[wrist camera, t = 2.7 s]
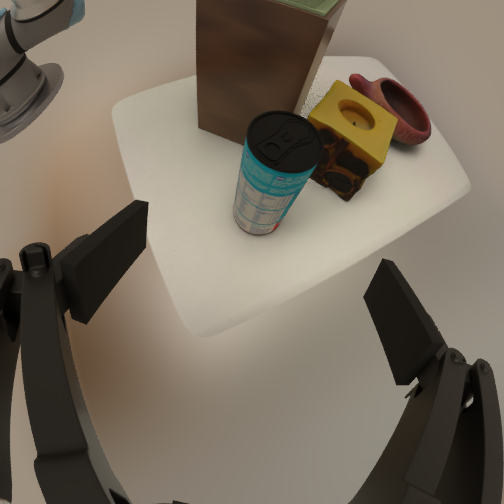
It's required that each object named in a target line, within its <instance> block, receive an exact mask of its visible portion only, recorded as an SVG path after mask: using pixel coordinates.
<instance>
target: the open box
mask: <svg viewBox="0 0 504 504" xmlns="http://www.w3.org/2000/svg"><path fill="white" fill-rule="evenodd" d="M273 1H277V2H281V3H284V4H288V5H291V6H294V7H297V8H300V9H303V10H306V11H309V12H312V13H315V14H317V15H320V16H323V17H324V16H325V15H326V14H327V13H328V12H329V11H330V10H331V9H332V8H333V7H334V6H335V5H336V4H337V3H338V2H339V1H340V0H273Z"/></svg>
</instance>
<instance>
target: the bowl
mask: <svg viewBox="0 0 504 504" xmlns="http://www.w3.org/2000/svg"><path fill="white" fill-rule="evenodd" d="M349 82H350V84H351V86H352V88H353V89H354V90H356V91H358V92H359V93H360V94H362V95H364V96H365V97H367V98H368V99H370V100H372V101H373V102H374V103H376V104H378V105H379V106H381V107H382V108H384V109H385V110H386V111H388V112H389V113H390V114H392V115H393V116H395V117H396V118H397V119H398V121H397V124H396V126H395V129H394V132H393V135H392V139H394V140H396V141H398V142H401V143H403V144H408V145H417V144H421V143H423V142H425V141H426V140H427V139H428V138H429V137H430V135H431V124H430V120H429V117H428V115H427V113H426V111H425V110H424V108H423V106H422V105H421V104H420V103H419V101H418V100H417V99H416V98H415V97H414V96H413V95H412V94H411V93H410V92H409V91H408V90H407V89H405V88H404V87H403V86H402V85H400V84H399V83H397V82H396V81H394V80H392V79H389V78H380V79H378V80H376V81H374V82H370V81H368V80H367V79H365V78H364V77H363V76H361V75H359V74H352V75H351V76H350V77H349Z"/></svg>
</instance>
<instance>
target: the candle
mask: <svg viewBox="0 0 504 504" xmlns="http://www.w3.org/2000/svg"><path fill="white" fill-rule="evenodd" d="M307 120H308V121H309V122H311V123H312V124H313V125H314V126H315V127H316V128H317V130H318V131H319V133H320V134H321V136H322V139H323V143H324V152H323V155H322V158H321V159H320V161H319V162H318V164H317V165H316V167H315V169H314V170H313V172H312V174H311V175H310V177H311V178H313V179H315V180H316V181H317V182H318V183H320V184H323V185H324V186H325V187H330V188H331V189H333V190H334V191H335V192H336V193H337V194H338V195H339V196H340V197H342V198H343V199H344V200H346V201H349V200H350V199H351V198H352V197H353V195H354V194H355V193H356V192H358V191H359V190H360V188H361V187H362V185H363V183H364V181H365V180H366V178H368V177H369V175H371V174H373V173H374V172H375V171H376V170H377V169H379V168H380V167H381V166H382V164H383V163H384V161H385V158H386V155H387V152H388V149H389V145H390V141H391V138H392V135H393V132H394V129H395V126H396V124H397V121H398V119H397V118H396V117H395V116H393V115H392V114H390V113H389V112H388V111H386V110H385V109H384V108H382V107H381V106H379V105H378V104H376V103H374V102H373V101H372V100H370V99H368V98H367V97H365V96H364V95H362V94H360V93H359V92H358V91H356V90H354V89H353V88H351V87H349V86H348V85H346V84H344V83H343V82H341V81H339V80H336V81H335V82H334V83H333V85H332V87H331V88H330V90H329V91H328V92H327V93H326V95H325V96H324V97H323V99H322V100H321V101H320V102H319V103H318V104H317V105H316V106H315V108H314V109H313V110H312V111H311V112H310V114H309V116H308V119H307Z"/></svg>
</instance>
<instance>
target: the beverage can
mask: <svg viewBox="0 0 504 504" xmlns="http://www.w3.org/2000/svg"><path fill="white" fill-rule="evenodd" d="M323 152H324V143H323V139H322V136H321V134H320V133H319V131H318V130H317V128H316V127H315V126H314V125H313V124H312V123H311V122H309V121H308V120H307V119H305V118H304V117H302V116H300V115H297V114H295V113H292V112H288V111H280V110H275V111H268V112H265V113H262V114H260V115H258V116H257V117H255V118H254V119H253V120H252V121H251V123H250V124H249V126H248V129H247V133H246V139H245V144H244V149H243V154H242V160H241V166H240V171H239V177H238V184H237V190H236V196H235V202H234V210H233V212H234V217H235V219H236V221H237V223H238V224H239V226H240V227H241V228H243V229H244V230H245V231H247V232H249V233H252V234H257V235H261V234H266V233H270V232H271V231H273V230H275V229H276V228H277V227H278V226H279V224H280V222H281V221H282V219H283V218H284V216H285V214H286V213H287V211H288V210H289V208H290V207H291V205H292V204H293V202H294V200H295V199H296V197H297V196H298V194H299V193H300V191H301V189H302V188H303V186H304V185H305V183H306V182H307V180H308V178H309V177H310V175H311V174H312V172H313V170H314V169H315V167H316V165H317V164H318V162H319V161H320V159H321V158H322V155H323Z"/></svg>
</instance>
